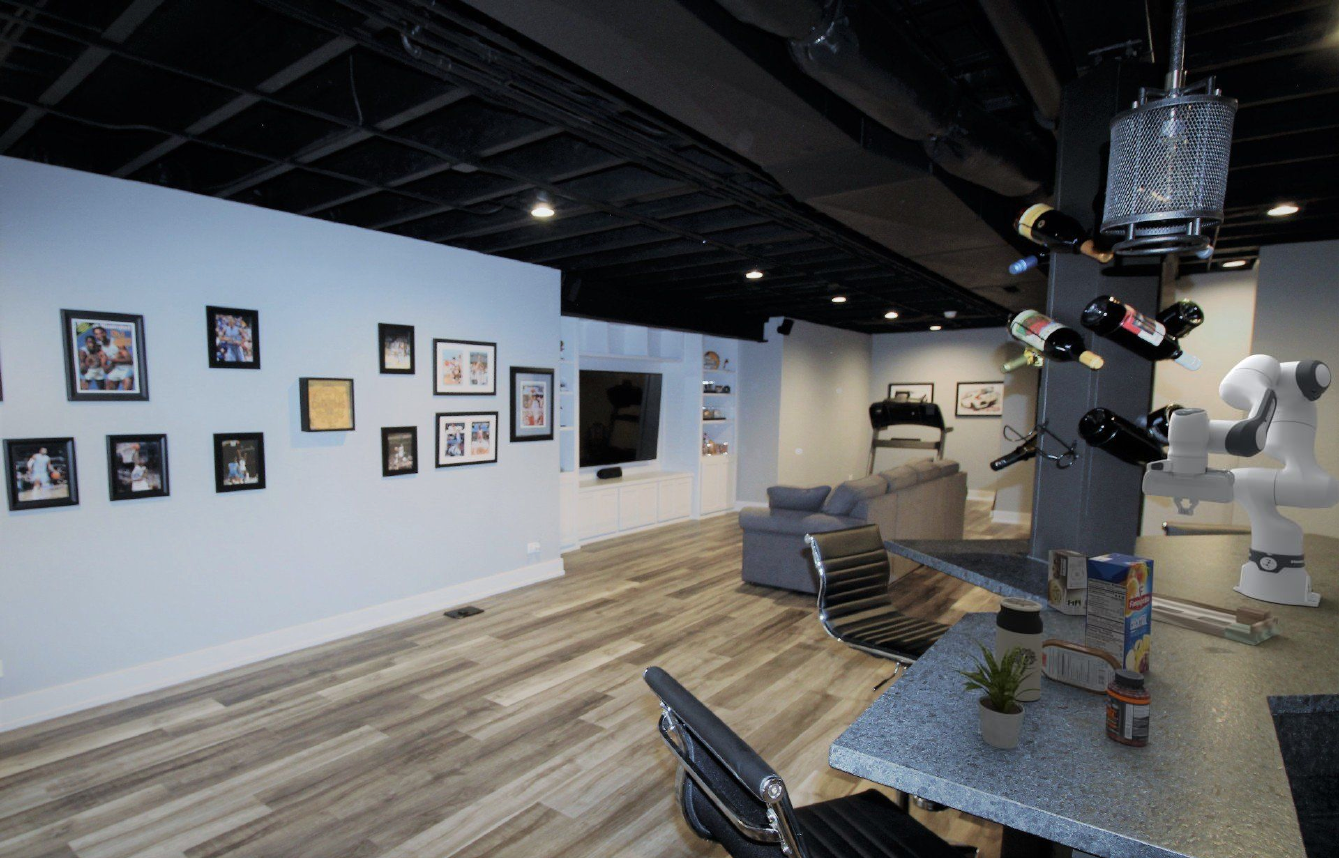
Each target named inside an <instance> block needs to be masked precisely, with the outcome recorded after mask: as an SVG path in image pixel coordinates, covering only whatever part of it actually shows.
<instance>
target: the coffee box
mask: <svg viewBox="0 0 1339 858" xmlns="http://www.w3.org/2000/svg"><path fill="white" fill-rule="evenodd" d="M1090 558H1092V557H1091V556H1089V555H1087V554H1084V553H1081V552H1077V551H1075V550H1072V549H1048V566H1047V567H1048V575H1047V606H1049V607H1051V608H1053V609H1055V610H1057V611H1059V612H1061V613H1063V614H1065V615H1069V616H1070V615H1073V616H1074V615H1075V616H1086V598H1087V574H1088V559H1090Z"/></svg>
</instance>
